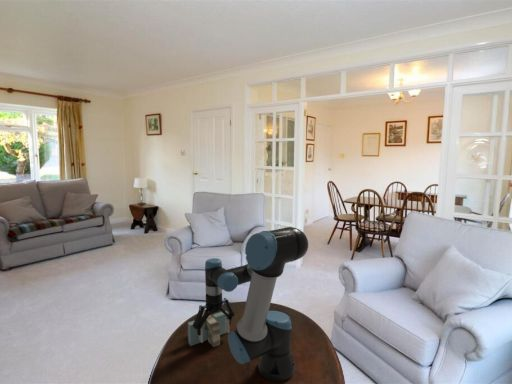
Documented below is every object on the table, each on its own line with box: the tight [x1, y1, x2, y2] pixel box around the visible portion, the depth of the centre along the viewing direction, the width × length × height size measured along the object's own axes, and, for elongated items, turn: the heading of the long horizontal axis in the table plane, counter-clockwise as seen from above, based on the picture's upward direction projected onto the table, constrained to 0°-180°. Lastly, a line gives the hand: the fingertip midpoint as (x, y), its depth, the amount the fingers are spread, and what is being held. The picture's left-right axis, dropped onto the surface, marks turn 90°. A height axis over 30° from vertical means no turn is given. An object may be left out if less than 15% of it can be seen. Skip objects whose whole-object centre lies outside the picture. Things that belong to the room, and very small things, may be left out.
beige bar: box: [202, 311, 221, 348], centre depth 145 cm, size 16×4×10 cm, turn 34°
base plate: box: [187, 310, 230, 347], centre depth 145 cm, size 20×3×10 cm, turn 124°
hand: (214, 336), depth 140 cm, fingers open, 13 cm apart
